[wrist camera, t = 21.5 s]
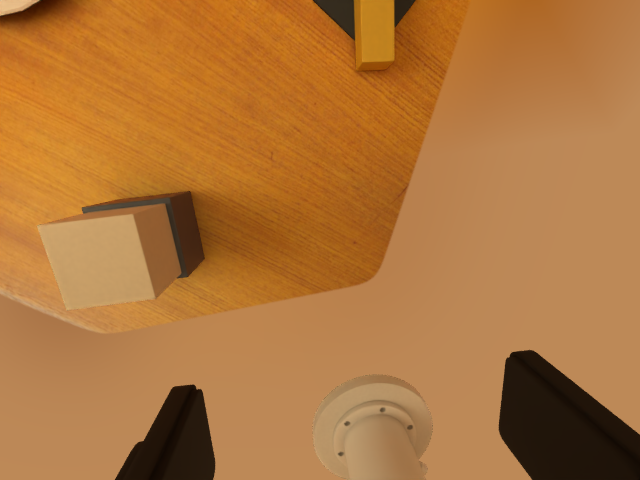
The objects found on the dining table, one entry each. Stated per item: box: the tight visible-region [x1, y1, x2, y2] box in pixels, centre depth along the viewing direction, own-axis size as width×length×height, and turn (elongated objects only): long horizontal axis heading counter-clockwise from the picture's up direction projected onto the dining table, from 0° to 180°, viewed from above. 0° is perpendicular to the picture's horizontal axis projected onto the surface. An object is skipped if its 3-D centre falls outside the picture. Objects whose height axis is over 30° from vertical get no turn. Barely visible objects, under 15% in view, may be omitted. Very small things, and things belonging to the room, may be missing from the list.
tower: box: [37, 191, 205, 311], centre depth 30 cm, size 8×8×12 cm
